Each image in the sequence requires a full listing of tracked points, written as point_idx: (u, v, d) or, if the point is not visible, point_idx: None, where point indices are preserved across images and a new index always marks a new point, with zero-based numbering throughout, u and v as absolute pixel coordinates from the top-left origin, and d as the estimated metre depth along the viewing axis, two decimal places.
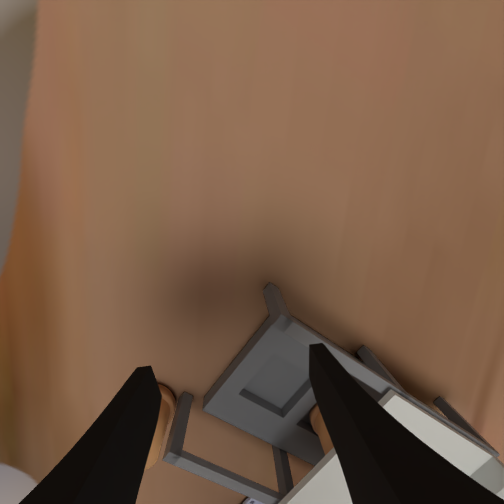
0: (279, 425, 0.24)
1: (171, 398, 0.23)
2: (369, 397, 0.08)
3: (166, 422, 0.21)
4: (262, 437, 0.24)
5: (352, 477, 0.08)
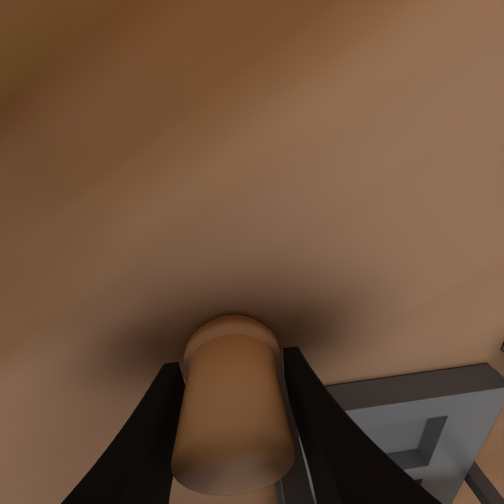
0: None
1: None
2: (334, 402, 0.08)
3: None
4: None
5: (316, 483, 0.08)
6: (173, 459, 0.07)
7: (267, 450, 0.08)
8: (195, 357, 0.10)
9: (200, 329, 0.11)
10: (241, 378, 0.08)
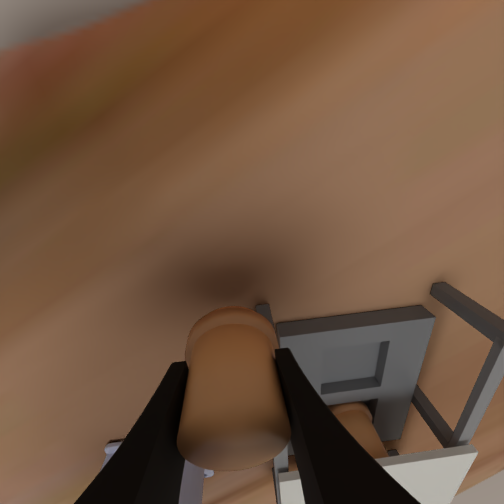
0: None
1: None
2: (322, 404, 0.08)
3: None
4: None
5: (304, 485, 0.08)
6: (179, 435, 0.08)
7: (265, 426, 0.08)
8: (197, 345, 0.11)
9: (201, 319, 0.12)
10: (240, 362, 0.09)
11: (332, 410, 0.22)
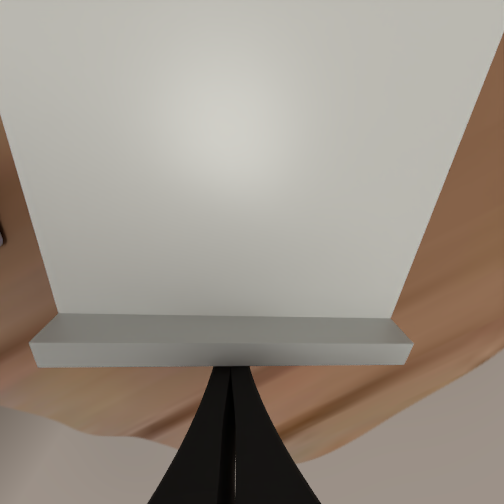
0: None
1: None
2: (262, 412, 0.08)
3: None
4: None
5: None
6: None
7: None
8: None
9: None
10: None
11: None
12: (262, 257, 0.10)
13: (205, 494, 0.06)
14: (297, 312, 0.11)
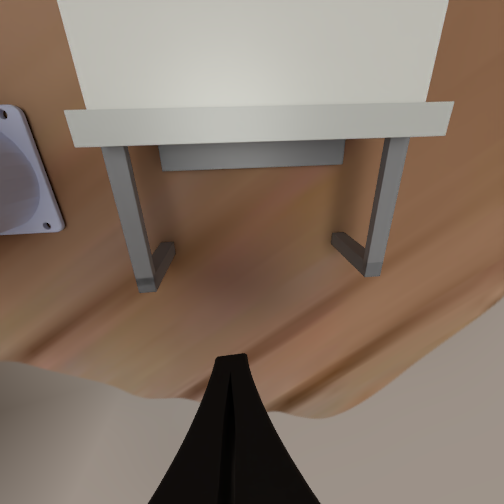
0: None
1: None
2: (262, 412, 0.08)
3: None
4: None
5: None
6: None
7: None
8: None
9: None
10: None
11: None
12: (284, 23, 0.09)
13: (205, 494, 0.06)
14: (325, 102, 0.10)
